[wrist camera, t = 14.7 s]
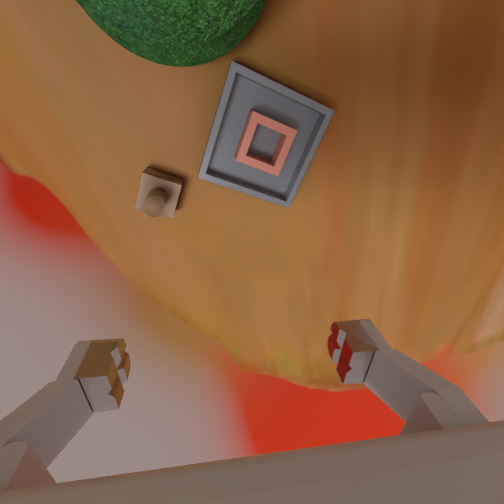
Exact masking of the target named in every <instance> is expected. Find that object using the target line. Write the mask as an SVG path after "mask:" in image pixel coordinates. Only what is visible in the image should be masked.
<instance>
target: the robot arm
mask: <svg viewBox="0 0 504 504" xmlns="http://www.w3.org/2000/svg"><path fill="white" fill-rule="evenodd" d="M330 329H331V331H332V334H331V335H330V336H329V337H328V341H327V346H328V352H329V355H330V357H331V360H332V361H334V362H335V363H336V364H337V368H336V370H337V372H338V375H339V377H340V379H341V381H342V383H343V384H354V383H364V385H365V386H367V387H368V388H369V389H370V390H371V391H372V392H373V393H374V394H376V395H377V396H378V397H379V398H380V399H381V400H382V401H383V402H384V403H386V404H387V405H388V406H389V407H390V408H391V409H392V410H393V411H395V412H396V413H397V414H398V415H399V416H400V417H401V418H402V419H403V420H405V421H406V423H405V425H404V427H403V429H402V430H401V433H400V435H397V436H389V437H382V438H376V439H368V440H362V441H354V442H347V443H340V444H333V445H326V446H318V447H312V448H304V449H297V450H290V451H282V452H276V453H269V454H262V455H254V456H248V457H240V458H234V459H226V460H219V461H212V462H205V463H197V464H190V465H184V466H176V467H169V468H162V469H156V470H148V471H141V472H134V473H126V474H120V475H112V476H105V477H98V478H91V479H84V480H77V481H70V482H63V483H56V482H55V480H54V479H53V477H52V476H51V474H50V473H49V472H48V470H47V469H46V468H47V467H48V466H49V465H50V463H51V462H52V461H53V460H54V459H55V458H56V457H57V455H58V454H59V453H60V452H61V451H62V450H63V448H64V447H65V446H66V445H67V444H68V443H69V441H70V440H71V439H72V438H73V437H74V436H75V434H76V433H77V432H78V431H79V430H80V429H81V428H82V426H83V425H84V424H85V423H86V422H87V421H88V419H89V418H90V417H91V416H92V415H93V413H94V412H101V411H109V410H116V409H119V407H120V403H121V400H122V397H123V393H124V389H123V386H122V385H123V384H124V383H125V382H126V381H127V380H128V376H129V372H130V357H129V354H128V353H127V352H125V348H126V343H125V340H124V339H104V340H91V341H79V342H78V343H76V344H75V346H74V348H73V350H72V351H71V353H70V355H69V357H68V359H67V361H66V362H65V365H64V366H63V368H62V370H61V372H60V373H59V375H58V377H57V379H56V381H54V382H50V383H48V384H47V385H46V386H44V387H43V388H42V389H41V390H39V391H38V392H37V393H36V394H34V395H33V396H32V397H30V398H29V399H28V400H27V401H25V402H24V403H23V404H21V405H20V406H19V407H18V408H16V409H15V410H14V411H12V412H11V413H10V414H9V415H7V416H6V417H5V418H3V419H2V420H1V421H0V504H504V420H503V421H496V422H489V421H488V420H487V419H486V418H485V417H484V416H483V414H482V413H481V412H480V411H479V410H478V409H477V407H476V406H475V405H474V404H473V403H472V402H471V400H470V399H469V398H468V397H467V396H466V395H465V393H464V392H463V391H462V390H461V389H460V388H459V387H457V386H456V385H454V384H452V383H451V382H449V381H448V380H446V379H444V378H442V377H441V376H439V375H437V374H436V373H434V372H432V371H431V370H429V369H427V368H426V367H424V366H423V365H421V364H419V363H418V362H416V361H414V360H413V359H411V358H409V357H408V356H406V355H404V354H403V353H401V352H399V351H398V350H396V349H391V347H390V346H389V345H388V343H387V342H386V341H385V339H384V338H383V336H382V335H381V334H380V332H379V331H378V330H377V328H376V327H375V325H374V324H373V323H372V321H371V320H369V319H360V320H349V321H337V322H333V323H332V324H331V328H330Z"/></svg>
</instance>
